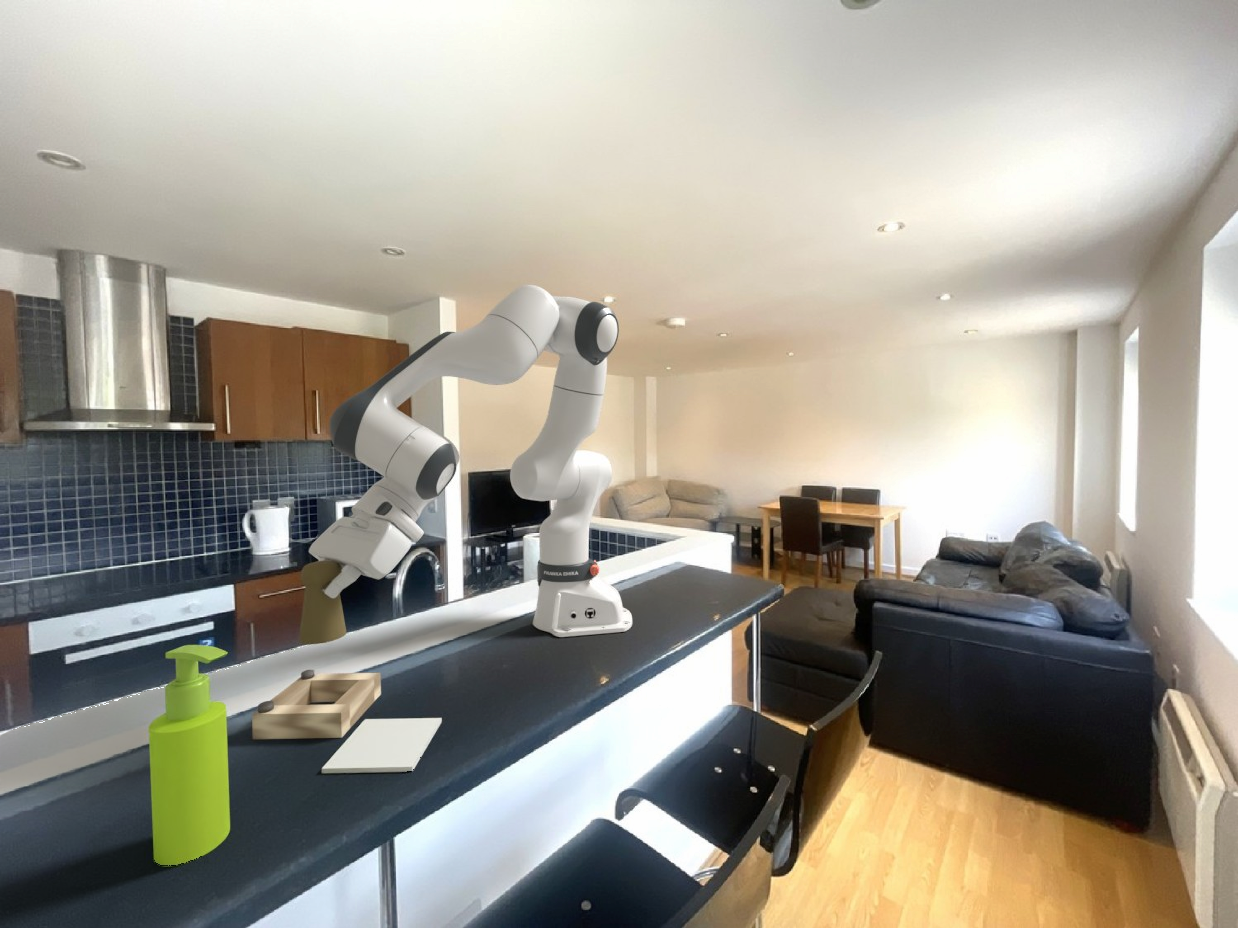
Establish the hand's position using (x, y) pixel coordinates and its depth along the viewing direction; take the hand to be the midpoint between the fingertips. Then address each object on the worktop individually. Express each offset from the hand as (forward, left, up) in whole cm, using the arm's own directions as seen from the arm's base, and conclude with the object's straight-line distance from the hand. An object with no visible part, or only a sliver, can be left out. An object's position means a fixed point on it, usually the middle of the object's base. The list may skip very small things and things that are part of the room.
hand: (317, 591), depth 72 cm
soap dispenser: (0, +23, -19) cm, 30 cm away
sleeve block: (+1, -1, -19) cm, 19 cm away
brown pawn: (0, 0, -7) cm, 7 cm away
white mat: (-12, +7, -19) cm, 24 cm away
